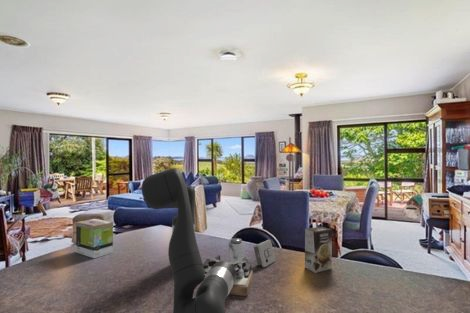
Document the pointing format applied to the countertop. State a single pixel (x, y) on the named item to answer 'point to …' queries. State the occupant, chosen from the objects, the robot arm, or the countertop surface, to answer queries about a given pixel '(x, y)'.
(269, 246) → the electrical switch
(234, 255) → the cylinder
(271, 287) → the countertop surface
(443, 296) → the countertop surface
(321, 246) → the coffee box
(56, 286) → the countertop surface
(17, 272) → the countertop surface
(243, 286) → the plinth
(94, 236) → the tea box
